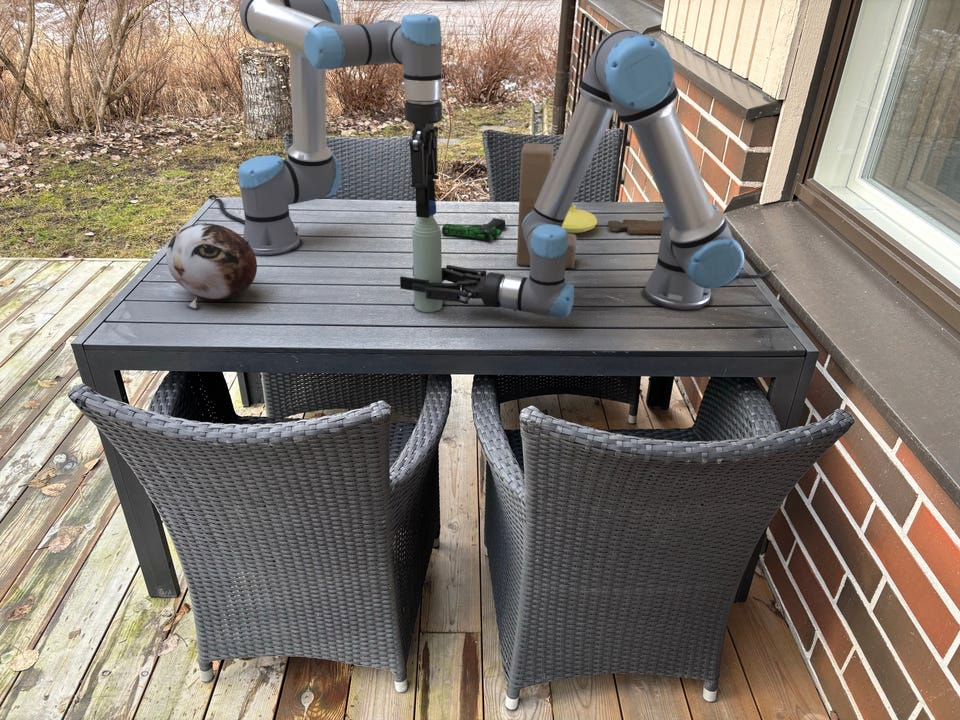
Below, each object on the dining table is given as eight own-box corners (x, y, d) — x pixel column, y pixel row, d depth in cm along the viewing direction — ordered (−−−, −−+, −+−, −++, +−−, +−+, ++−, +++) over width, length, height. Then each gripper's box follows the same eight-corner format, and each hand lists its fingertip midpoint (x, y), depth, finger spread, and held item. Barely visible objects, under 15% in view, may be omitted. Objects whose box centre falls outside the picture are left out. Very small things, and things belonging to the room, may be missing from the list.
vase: (559, 216, 220) (561, 193, 217) (605, 227, 212) (608, 204, 209) (532, 230, 209) (533, 207, 206) (580, 242, 201) (582, 218, 198)
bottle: (442, 312, 164) (440, 210, 151) (414, 312, 163) (410, 210, 151) (442, 299, 169) (440, 200, 157) (415, 300, 169) (411, 200, 157)
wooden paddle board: (699, 237, 207) (691, 225, 216) (700, 231, 206) (692, 220, 215) (610, 234, 207) (606, 222, 216) (611, 228, 207) (607, 217, 215)
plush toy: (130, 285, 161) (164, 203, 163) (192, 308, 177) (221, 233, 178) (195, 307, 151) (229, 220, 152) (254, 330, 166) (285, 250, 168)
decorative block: (573, 269, 185) (584, 153, 170) (516, 265, 187) (521, 149, 171) (574, 258, 192) (584, 145, 176) (518, 254, 193) (523, 142, 178)
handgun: (511, 219, 210) (493, 234, 198) (511, 228, 211) (492, 244, 199) (461, 212, 215) (440, 226, 203) (461, 221, 217) (440, 236, 204)
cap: (411, 213, 154) (411, 203, 153) (424, 208, 157) (424, 198, 156) (427, 217, 152) (427, 207, 151) (440, 212, 155) (440, 202, 154)
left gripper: (417, 91, 151) (420, 199, 163) (391, 108, 136) (397, 225, 148) (451, 93, 150) (452, 202, 161) (429, 110, 135) (432, 228, 147)
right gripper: (489, 325, 152) (390, 308, 158) (514, 289, 168) (423, 275, 174) (490, 293, 148) (388, 277, 154) (515, 259, 164) (423, 246, 170)
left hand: (426, 212), depth 155 cm, fingers closed on cap, 4 cm apart
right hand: (407, 276), depth 164 cm, fingers closed on bottle, 6 cm apart
